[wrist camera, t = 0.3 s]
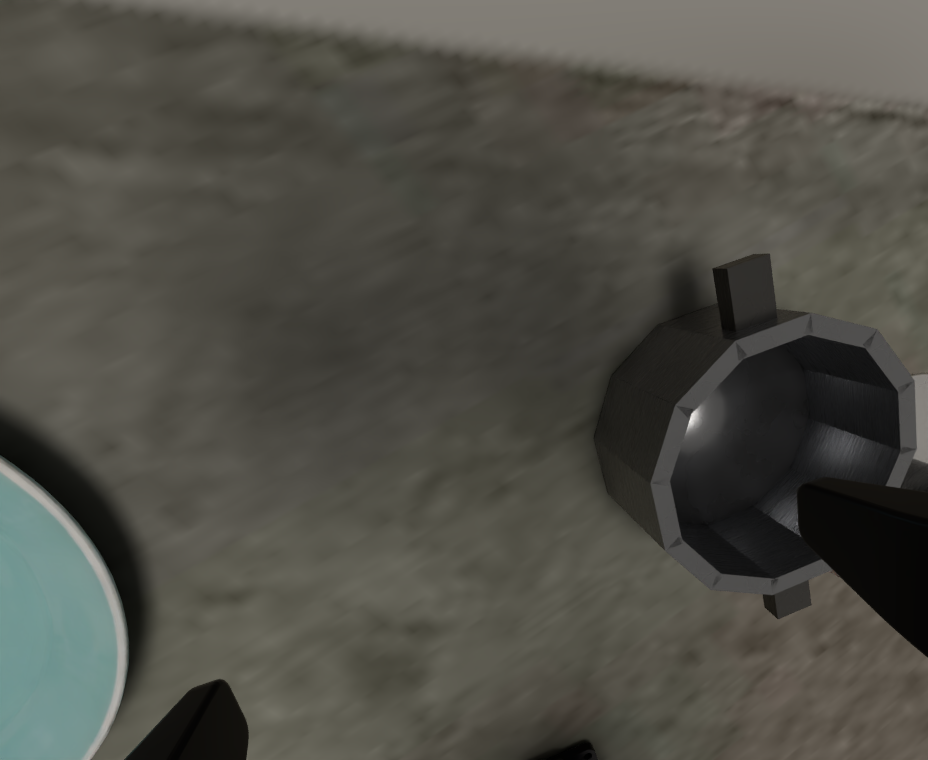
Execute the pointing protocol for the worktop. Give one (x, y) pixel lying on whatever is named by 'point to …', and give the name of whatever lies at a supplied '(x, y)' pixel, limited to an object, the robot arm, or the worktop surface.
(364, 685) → the worktop surface
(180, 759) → the robot arm
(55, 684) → the plate
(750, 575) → the pot
